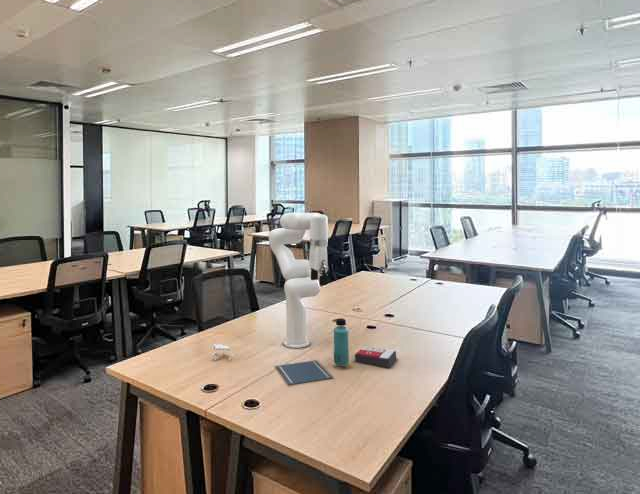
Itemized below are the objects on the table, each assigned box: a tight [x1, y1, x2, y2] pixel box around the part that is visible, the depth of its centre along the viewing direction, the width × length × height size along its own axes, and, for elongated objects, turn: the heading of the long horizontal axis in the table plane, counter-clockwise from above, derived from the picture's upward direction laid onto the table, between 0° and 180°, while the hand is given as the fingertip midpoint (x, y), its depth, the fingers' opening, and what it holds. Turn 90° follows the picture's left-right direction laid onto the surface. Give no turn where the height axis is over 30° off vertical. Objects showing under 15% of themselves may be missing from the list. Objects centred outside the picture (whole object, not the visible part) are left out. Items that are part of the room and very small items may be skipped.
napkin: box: [275, 360, 333, 386], centre depth 174 cm, size 18×18×1 cm
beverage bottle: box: [333, 317, 350, 367], centre depth 179 cm, size 6×7×20 cm
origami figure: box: [211, 343, 234, 362], centre depth 189 cm, size 12×8×5 cm
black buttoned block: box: [354, 345, 397, 369], centre depth 186 cm, size 11×4×15 cm
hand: (318, 282), depth 185 cm, fingers open, 9 cm apart
